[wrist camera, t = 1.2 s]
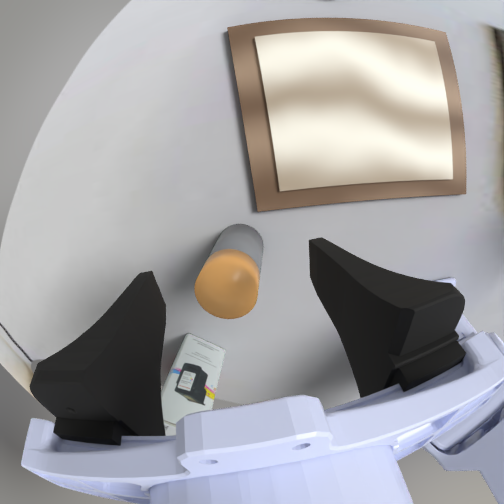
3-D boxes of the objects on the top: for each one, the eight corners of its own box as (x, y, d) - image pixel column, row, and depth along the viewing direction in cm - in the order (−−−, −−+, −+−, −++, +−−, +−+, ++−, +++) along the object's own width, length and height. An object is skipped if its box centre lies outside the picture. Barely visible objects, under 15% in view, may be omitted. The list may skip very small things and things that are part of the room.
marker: (266, 263, 25) (261, 316, 18) (222, 268, 26) (202, 320, 19) (259, 221, 24) (252, 260, 16) (214, 227, 24) (187, 267, 17)
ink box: (202, 388, 33) (181, 464, 22) (167, 373, 33) (137, 447, 22) (227, 349, 30) (207, 439, 19) (187, 331, 29) (151, 417, 18)
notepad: (462, 192, 21) (467, 194, 20) (258, 210, 23) (257, 212, 23) (442, 34, 15) (447, 31, 14) (228, 30, 17) (226, 26, 17)
